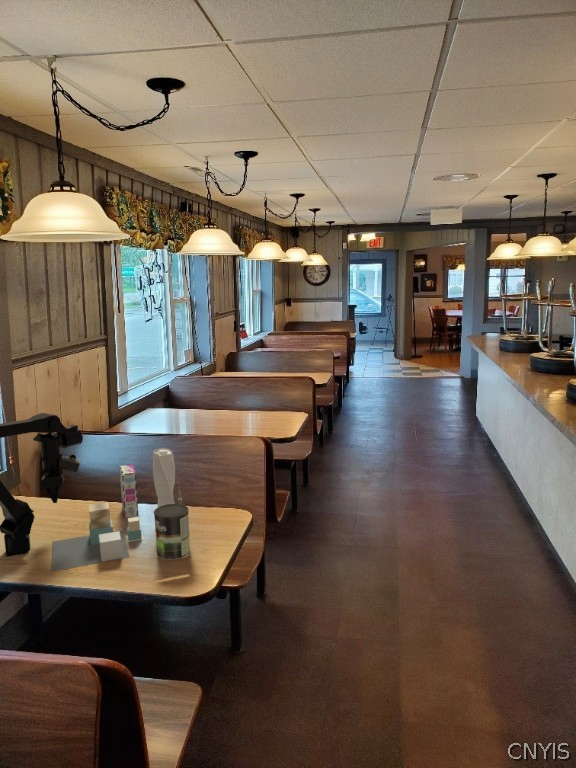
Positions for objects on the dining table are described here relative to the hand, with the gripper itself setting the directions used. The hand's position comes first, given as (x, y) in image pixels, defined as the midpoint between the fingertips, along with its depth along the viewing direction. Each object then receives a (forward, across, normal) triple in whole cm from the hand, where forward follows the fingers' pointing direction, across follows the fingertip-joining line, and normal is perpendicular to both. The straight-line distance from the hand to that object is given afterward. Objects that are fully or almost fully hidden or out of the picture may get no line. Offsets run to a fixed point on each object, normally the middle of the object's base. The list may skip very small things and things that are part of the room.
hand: (55, 497), depth 191 cm
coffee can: (+13, -28, -33) cm, 45 cm away
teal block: (+12, -10, -13) cm, 21 cm away
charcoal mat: (+13, -16, -9) cm, 22 cm away
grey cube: (+12, -23, -15) cm, 30 cm away
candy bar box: (+13, +10, -24) cm, 29 cm away
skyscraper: (+13, -6, -35) cm, 38 cm away
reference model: (+13, -13, -23) cm, 29 cm away
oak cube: (+7, -10, -13) cm, 18 cm away
